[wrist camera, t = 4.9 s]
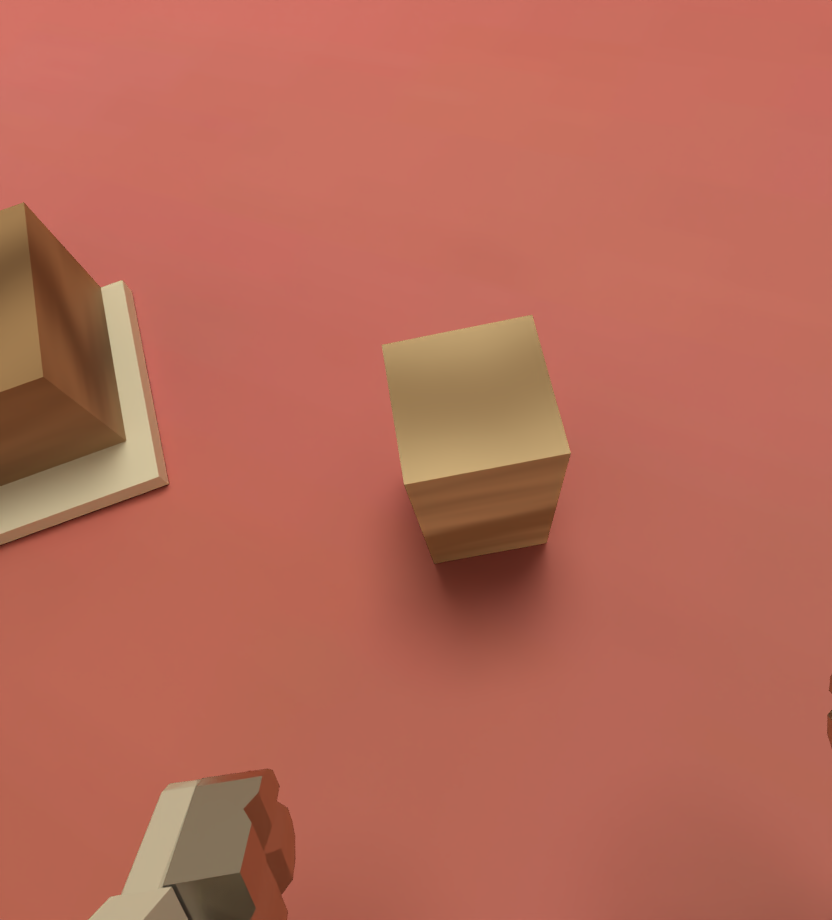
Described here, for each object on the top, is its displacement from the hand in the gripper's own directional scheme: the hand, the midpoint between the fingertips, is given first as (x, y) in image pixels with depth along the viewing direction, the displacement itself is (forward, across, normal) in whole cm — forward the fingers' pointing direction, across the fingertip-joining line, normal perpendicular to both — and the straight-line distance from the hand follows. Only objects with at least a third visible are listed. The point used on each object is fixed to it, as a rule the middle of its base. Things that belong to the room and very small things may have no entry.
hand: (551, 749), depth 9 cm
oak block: (+14, 0, +3) cm, 14 cm away
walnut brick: (+19, +17, -3) cm, 26 cm away
